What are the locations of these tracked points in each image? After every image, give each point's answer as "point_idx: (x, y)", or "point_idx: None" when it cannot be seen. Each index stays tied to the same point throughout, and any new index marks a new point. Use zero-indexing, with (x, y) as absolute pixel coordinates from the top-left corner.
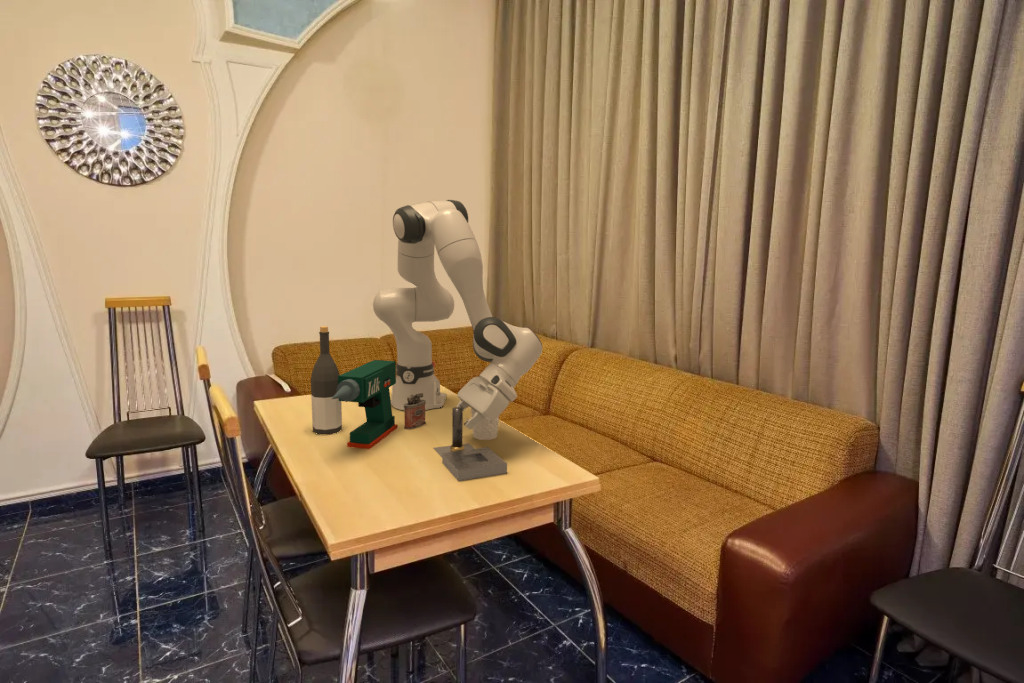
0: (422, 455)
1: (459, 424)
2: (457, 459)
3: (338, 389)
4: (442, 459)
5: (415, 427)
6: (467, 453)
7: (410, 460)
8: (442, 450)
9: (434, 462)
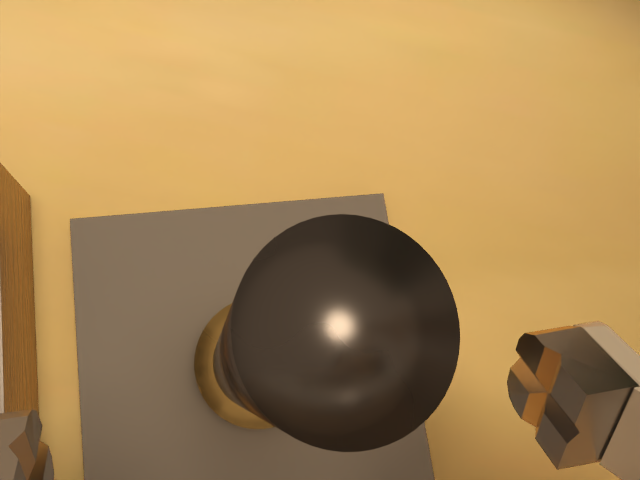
0: (278, 105)
1: (220, 363)
2: None
3: None
4: (12, 180)
5: None
6: None
7: (200, 12)
8: None
9: (107, 152)
